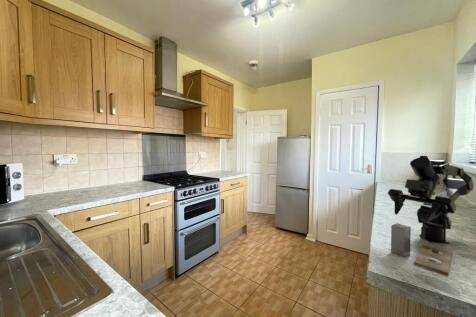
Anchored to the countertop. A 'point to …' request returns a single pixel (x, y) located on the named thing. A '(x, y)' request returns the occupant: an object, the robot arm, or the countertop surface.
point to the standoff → (400, 239)
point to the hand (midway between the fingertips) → (409, 217)
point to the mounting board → (434, 259)
